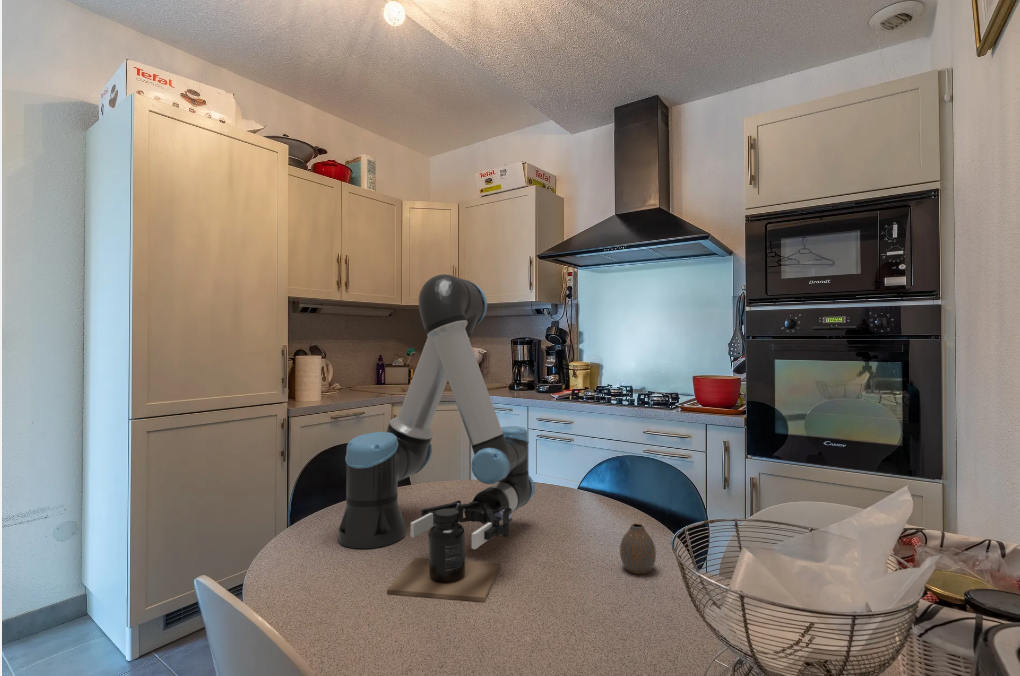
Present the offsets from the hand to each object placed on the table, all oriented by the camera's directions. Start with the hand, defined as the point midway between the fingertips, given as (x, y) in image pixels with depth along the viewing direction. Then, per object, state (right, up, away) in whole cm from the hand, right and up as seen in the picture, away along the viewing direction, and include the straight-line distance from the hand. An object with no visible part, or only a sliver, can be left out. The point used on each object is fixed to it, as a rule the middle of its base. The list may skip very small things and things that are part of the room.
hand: (441, 535), depth 95 cm
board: (+1, -9, +2) cm, 9 cm away
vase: (+38, -9, +5) cm, 39 cm away
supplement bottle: (+1, -8, +2) cm, 9 cm away
